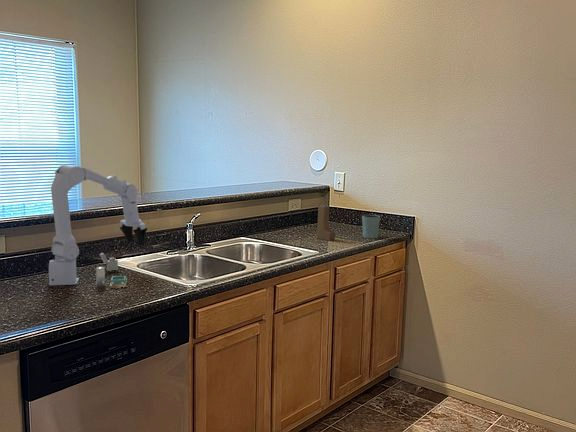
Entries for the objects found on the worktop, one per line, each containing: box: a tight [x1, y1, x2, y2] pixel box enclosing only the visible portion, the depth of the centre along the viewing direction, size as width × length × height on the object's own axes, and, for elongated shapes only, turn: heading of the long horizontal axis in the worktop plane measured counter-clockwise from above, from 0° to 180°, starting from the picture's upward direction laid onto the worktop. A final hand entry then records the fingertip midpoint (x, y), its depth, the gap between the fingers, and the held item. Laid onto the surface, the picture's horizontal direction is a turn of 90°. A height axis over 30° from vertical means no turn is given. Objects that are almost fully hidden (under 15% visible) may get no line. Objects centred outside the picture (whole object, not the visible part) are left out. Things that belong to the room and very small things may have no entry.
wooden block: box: [316, 204, 336, 242], centre depth 302 cm, size 9×4×18 cm, turn 47°
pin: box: [95, 266, 106, 288], centre depth 206 cm, size 3×3×7 cm
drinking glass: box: [361, 214, 381, 239], centre depth 312 cm, size 10×10×12 cm
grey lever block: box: [99, 252, 119, 272], centre depth 227 cm, size 7×2×8 cm, turn 133°
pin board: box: [109, 275, 128, 289], centre depth 209 cm, size 6×9×2 cm, turn 13°
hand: (135, 243), depth 232 cm, fingers open, 7 cm apart
